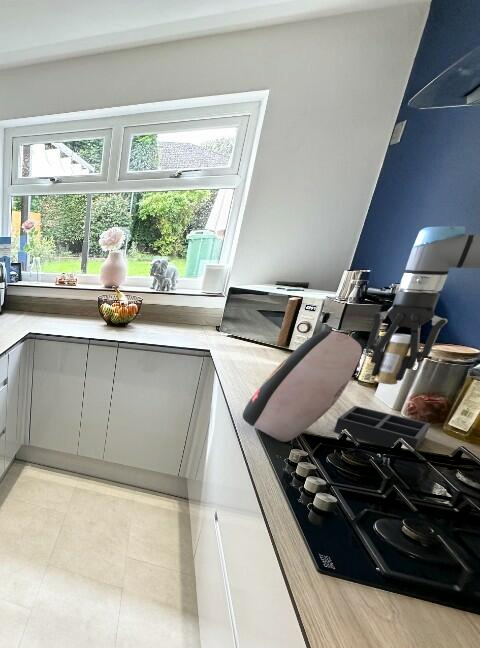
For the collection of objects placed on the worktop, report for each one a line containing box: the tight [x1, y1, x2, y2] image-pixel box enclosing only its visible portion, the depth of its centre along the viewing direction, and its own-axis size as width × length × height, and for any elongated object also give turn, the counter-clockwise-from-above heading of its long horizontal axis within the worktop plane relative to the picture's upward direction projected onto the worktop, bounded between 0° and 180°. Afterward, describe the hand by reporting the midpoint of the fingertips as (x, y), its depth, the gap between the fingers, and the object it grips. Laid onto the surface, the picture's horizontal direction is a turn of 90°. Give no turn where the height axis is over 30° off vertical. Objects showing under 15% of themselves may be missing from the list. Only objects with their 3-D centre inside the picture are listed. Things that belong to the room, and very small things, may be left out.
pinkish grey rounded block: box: [242, 330, 363, 443], centre depth 106 cm, size 22×20×30 cm
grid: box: [333, 405, 431, 450], centre depth 109 cm, size 15×15×5 cm
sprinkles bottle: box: [374, 333, 411, 386], centre depth 108 cm, size 5×5×14 cm
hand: (386, 376), depth 110 cm, fingers closed on sprinkles bottle, 4 cm apart
